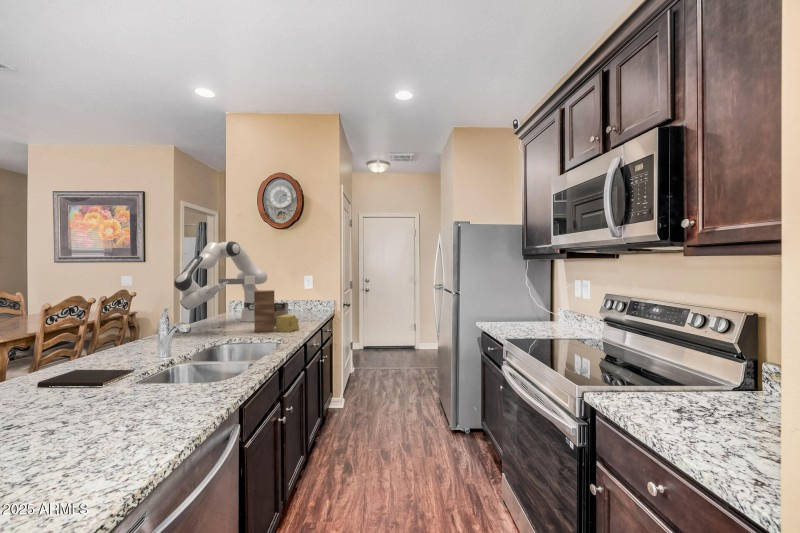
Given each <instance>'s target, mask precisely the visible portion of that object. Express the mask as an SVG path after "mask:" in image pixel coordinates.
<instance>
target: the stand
mask: <svg viewBox="0 0 800 533" xmlns="http://www.w3.org/2000/svg"><path fill="white" fill-rule="evenodd" d="M274 303H275V289H271V290H270V289H267V290H266V289H264V290H263V289H260V290H259V289H257V290H255V292H254V321H253V322H254V323H253V324H254V331H253V332H254V334H258V333H260V332H262V333H274V332H275V326H274Z"/></svg>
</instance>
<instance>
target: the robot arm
mask: <svg viewBox="0 0 800 533" xmlns="http://www.w3.org/2000/svg"><path fill="white" fill-rule="evenodd" d="M242 246H243V245H241V244H240V243H237V242H236V241H222V242H215V241H211V242H208V243H207V244H206V246H204V248H203V249H202V251H201V252H200V254H199V255H197V256H195V257H193V258H192V259H191V260H190V262H189V263H188V264H187V265H186V266H185V268H184V269H183V271H182V272H181V273H180V274H178V276H177V277H176V278H175V279H174V284H173V285H174V288H176V289H177V290H179V291H180V292H181V293H182V298H181V299H180V301H179V303H180V305H181V306H182V307H183V308H184V309H185V310H187V311H190V310H193V309H195V308H197V307H199V306H201V305H202V304H204V303H206V302H208V301H210V300H212V299H214V298H215V295H217V294H218V292H220V291H221V290H223V289H224V288H225V287H226V285H229V284H228V283H229V281H228V280H227V281H225V282H223V283H219V282H218V283H216V284H213V285H208V284H207V285H204V286H203V287H202V286H200V285H199V284H198V283H197V282H196V281H195V280H194V278H193V275H194V274H195V273H196V272H197V270H198V269H199V268H201V269H205V270H209V269H213V268H214V267H215V265H216V264H217V263H218V261H219V259H225V258H231V260H232V262H233V263H234V265H235V266H236V268H237V269H238V270H239V272H238V273H237V275H236V277H237V278H236V279H238V278H244V276H255V284H240V285H241V287H242V289H243V292H244V297H243V298H244V302H243V308H242V310H241V318H240V319H238V321H239V322H247V323H249V322H250V323H251V322H254V292H255V290H258V287H257V286H256V285H262V284H265V283H266V282H267V281H268V274H267V272H266V271H265V270H263V269H261V268H259V267H258V266H257V265H256V264H255V263H254V262H253V261H252V260H251V258H250V256H249V254H248V253H247V251H246V249H244V248H243V247H242Z"/></svg>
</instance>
